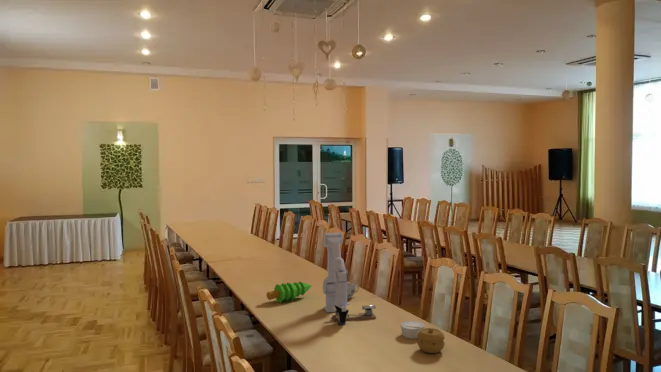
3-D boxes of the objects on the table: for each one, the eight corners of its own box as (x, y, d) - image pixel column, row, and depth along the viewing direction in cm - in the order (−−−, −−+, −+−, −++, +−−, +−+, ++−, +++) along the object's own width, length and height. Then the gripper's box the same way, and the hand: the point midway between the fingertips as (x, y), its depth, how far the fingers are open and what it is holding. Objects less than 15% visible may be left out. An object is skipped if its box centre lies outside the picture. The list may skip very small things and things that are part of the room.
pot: (440, 345, 217) (440, 323, 216) (447, 356, 205) (448, 332, 204) (414, 346, 216) (414, 324, 216) (420, 356, 205) (420, 333, 204)
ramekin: (406, 341, 222) (406, 330, 222) (396, 333, 233) (396, 322, 233) (428, 338, 225) (428, 327, 225) (417, 330, 236) (417, 319, 236)
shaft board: (332, 317, 257) (332, 314, 257) (372, 314, 261) (372, 311, 260) (334, 321, 250) (334, 318, 250) (375, 318, 254) (375, 316, 254)
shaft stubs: (331, 315, 255) (331, 306, 255) (374, 313, 259) (374, 303, 259) (332, 318, 252) (332, 308, 251) (376, 315, 255) (376, 306, 255)
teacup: (340, 302, 284) (340, 288, 283) (332, 296, 295) (332, 283, 295) (363, 298, 290) (363, 285, 289) (354, 293, 301) (354, 280, 301)
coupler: (335, 323, 248) (335, 311, 247) (346, 322, 249) (346, 310, 248) (336, 325, 244) (336, 314, 243) (348, 324, 245) (348, 313, 244)
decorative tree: (265, 282, 283) (309, 273, 300) (263, 298, 287) (306, 288, 304) (274, 293, 275) (318, 283, 291) (271, 310, 279) (315, 298, 296)
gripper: (351, 298, 239) (352, 325, 240) (346, 290, 253) (346, 316, 254) (337, 299, 238) (338, 326, 239) (333, 291, 252) (333, 317, 253)
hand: (341, 321), depth 246 cm, fingers open, 6 cm apart
